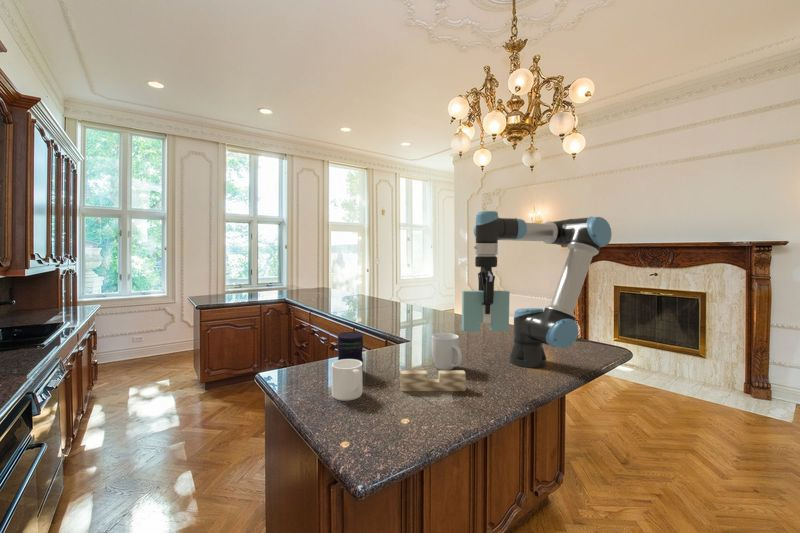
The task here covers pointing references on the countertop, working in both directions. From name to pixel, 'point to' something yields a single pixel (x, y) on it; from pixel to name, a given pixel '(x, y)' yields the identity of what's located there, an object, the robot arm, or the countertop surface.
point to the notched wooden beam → (433, 381)
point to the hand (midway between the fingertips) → (485, 321)
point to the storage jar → (350, 346)
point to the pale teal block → (474, 310)
